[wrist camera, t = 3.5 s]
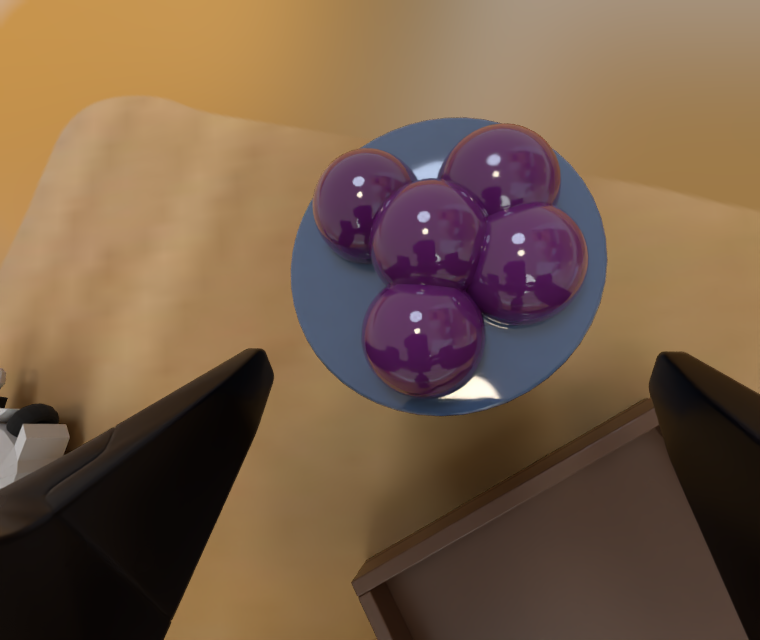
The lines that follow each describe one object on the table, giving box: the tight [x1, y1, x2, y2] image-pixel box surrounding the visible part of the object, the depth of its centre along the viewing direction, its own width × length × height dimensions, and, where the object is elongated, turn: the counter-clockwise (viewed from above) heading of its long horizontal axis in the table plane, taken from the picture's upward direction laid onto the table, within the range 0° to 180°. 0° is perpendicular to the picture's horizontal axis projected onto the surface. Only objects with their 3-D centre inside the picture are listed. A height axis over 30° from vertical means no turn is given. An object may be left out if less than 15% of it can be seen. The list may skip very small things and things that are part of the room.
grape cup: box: [291, 117, 607, 416], centre depth 12 cm, size 7×7×13 cm
